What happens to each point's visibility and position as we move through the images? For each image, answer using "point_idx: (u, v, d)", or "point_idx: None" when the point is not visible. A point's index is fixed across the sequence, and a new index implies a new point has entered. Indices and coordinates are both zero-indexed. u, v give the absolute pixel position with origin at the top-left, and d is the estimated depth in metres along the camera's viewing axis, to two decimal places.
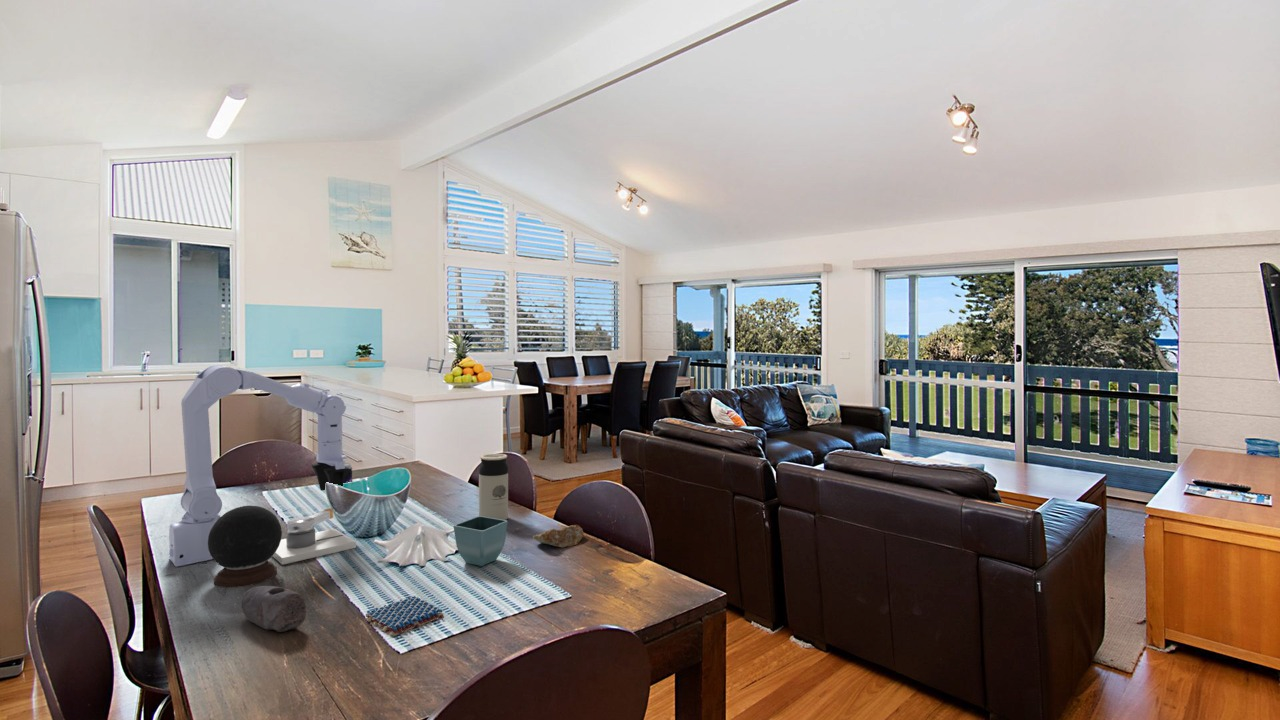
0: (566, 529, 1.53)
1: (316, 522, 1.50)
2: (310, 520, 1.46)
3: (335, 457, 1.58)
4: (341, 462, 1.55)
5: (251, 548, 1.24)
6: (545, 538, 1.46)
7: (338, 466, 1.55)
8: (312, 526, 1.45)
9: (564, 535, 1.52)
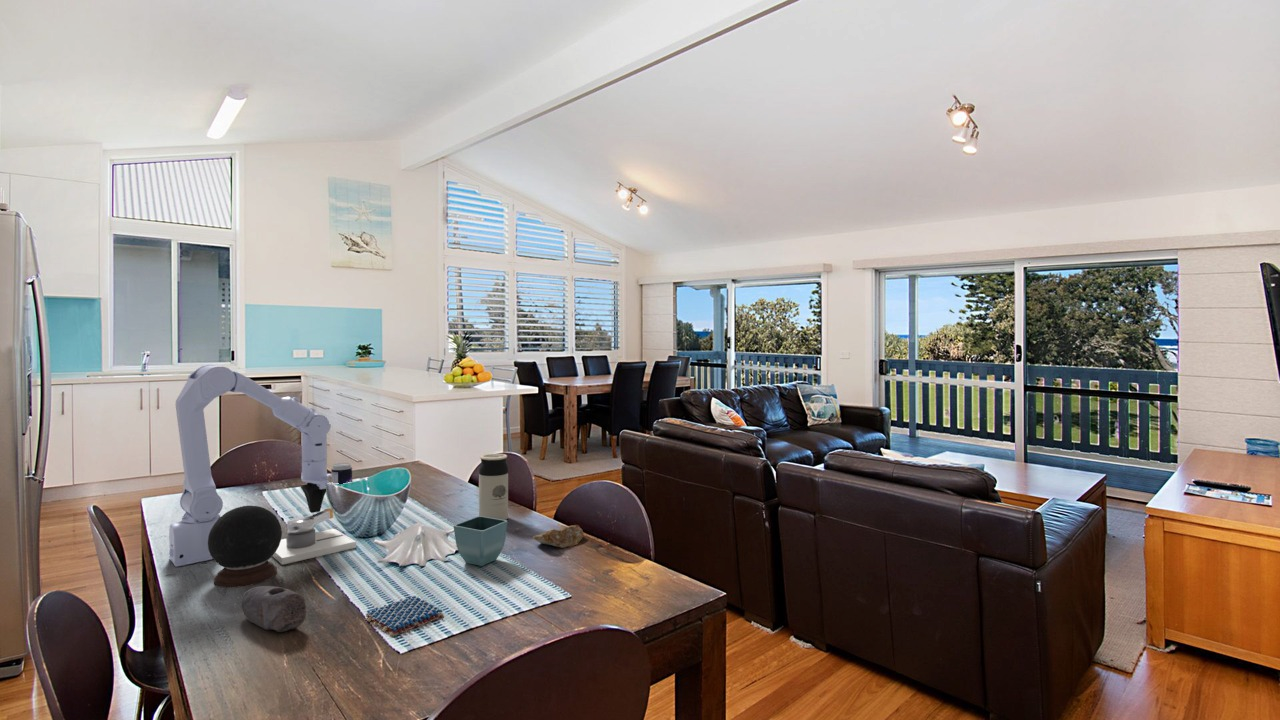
0: (566, 529, 1.53)
1: (316, 522, 1.50)
2: (310, 520, 1.46)
3: (319, 476, 1.57)
4: (325, 482, 1.54)
5: (251, 548, 1.24)
6: (546, 538, 1.46)
7: (322, 486, 1.53)
8: (312, 526, 1.45)
9: (565, 535, 1.51)
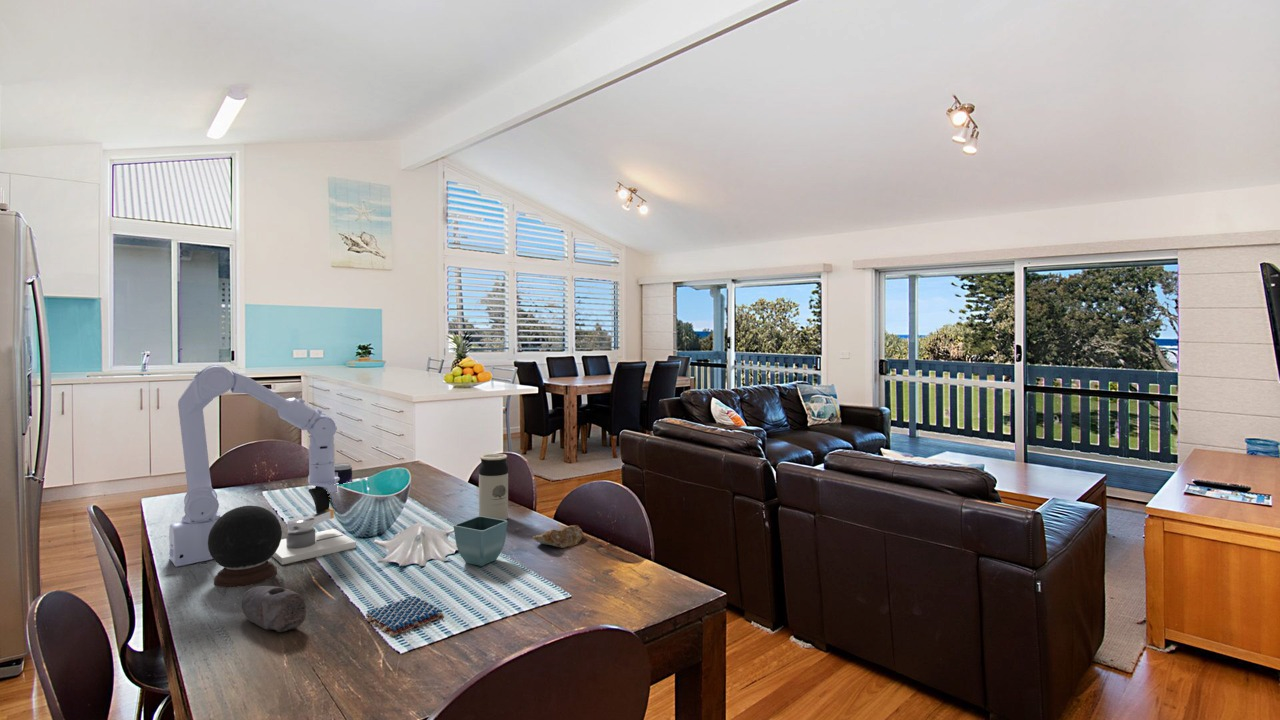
0: (566, 529, 1.53)
1: (316, 522, 1.50)
2: (310, 520, 1.45)
3: (327, 479, 1.53)
4: (333, 485, 1.50)
5: (251, 548, 1.24)
6: (547, 539, 1.46)
7: (330, 489, 1.50)
8: (312, 526, 1.45)
9: (565, 536, 1.51)
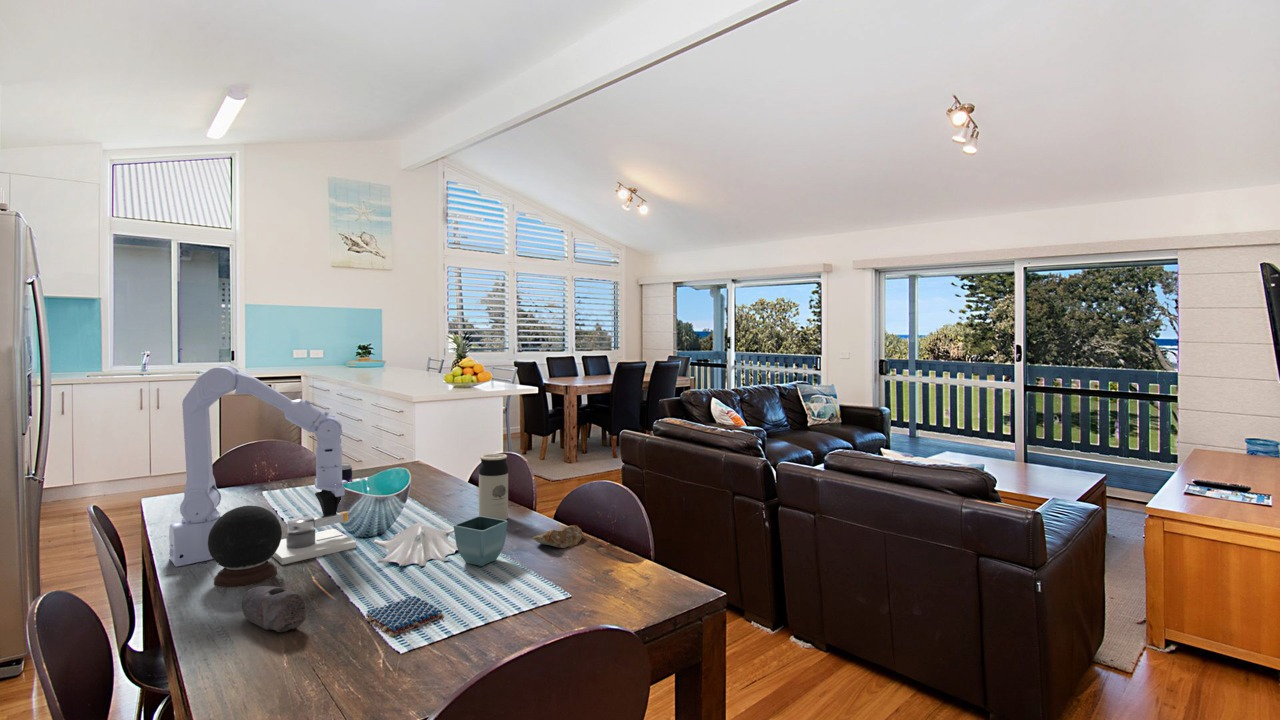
0: (566, 529, 1.53)
1: (321, 524, 1.48)
2: (306, 522, 1.44)
3: (335, 483, 1.50)
4: (341, 489, 1.47)
5: (251, 548, 1.24)
6: (547, 539, 1.46)
7: (338, 493, 1.46)
8: (307, 528, 1.44)
9: (565, 536, 1.51)
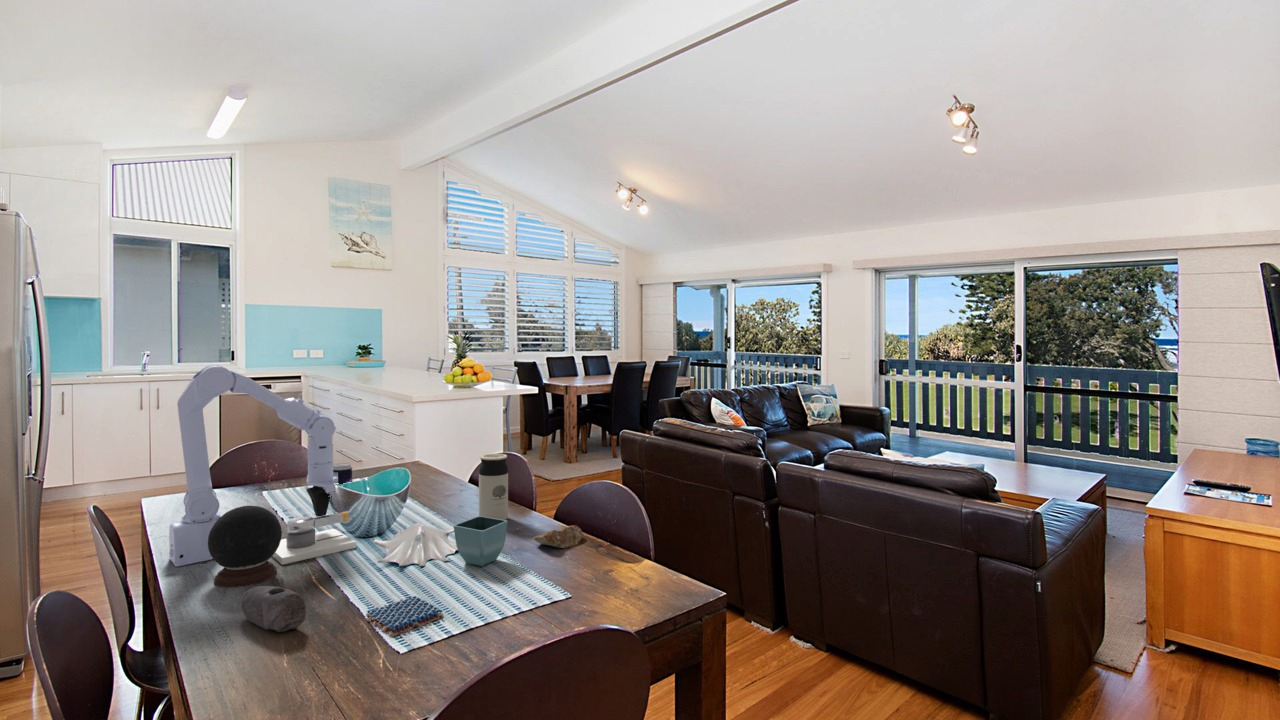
0: (566, 529, 1.53)
1: (321, 524, 1.48)
2: (306, 522, 1.44)
3: (325, 479, 1.54)
4: (331, 485, 1.51)
5: (251, 548, 1.24)
6: (548, 539, 1.45)
7: (328, 489, 1.50)
8: (306, 528, 1.44)
9: (565, 536, 1.51)
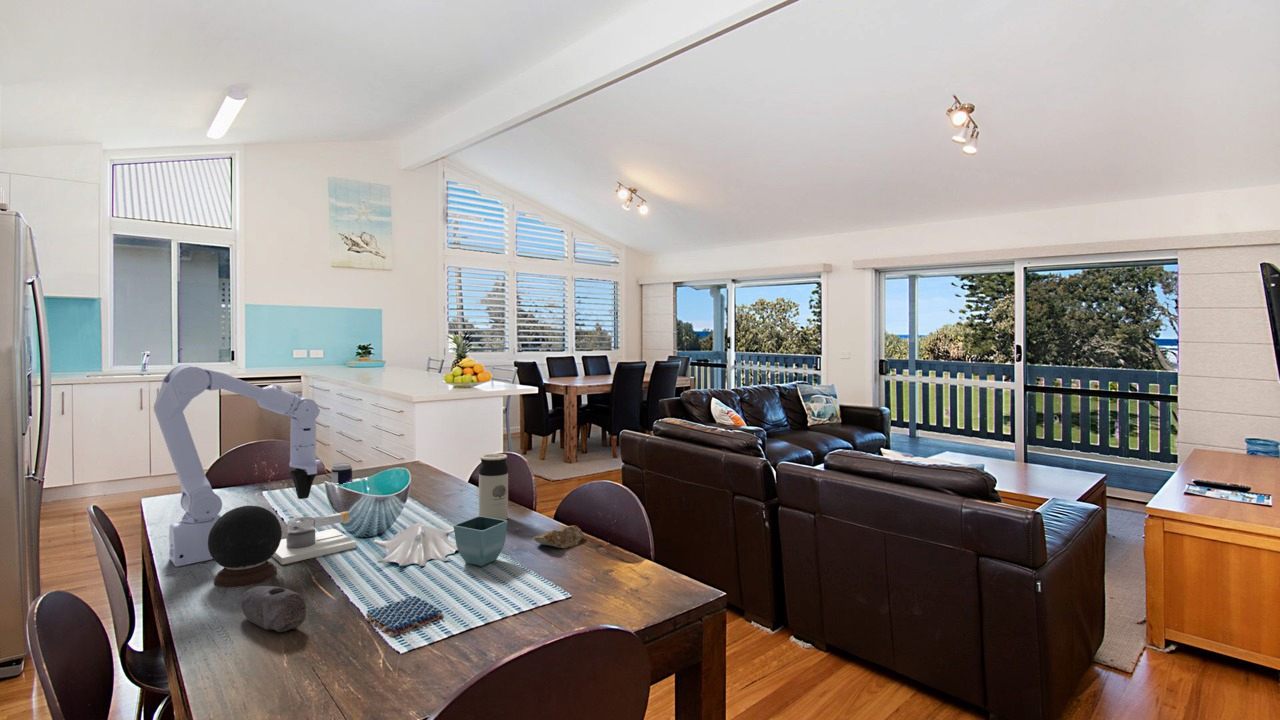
0: (566, 530, 1.53)
1: (321, 524, 1.48)
2: (306, 522, 1.44)
3: (308, 462, 1.54)
4: (313, 467, 1.51)
5: (251, 548, 1.24)
6: (548, 539, 1.45)
7: (310, 471, 1.50)
8: (306, 528, 1.44)
9: (565, 536, 1.51)
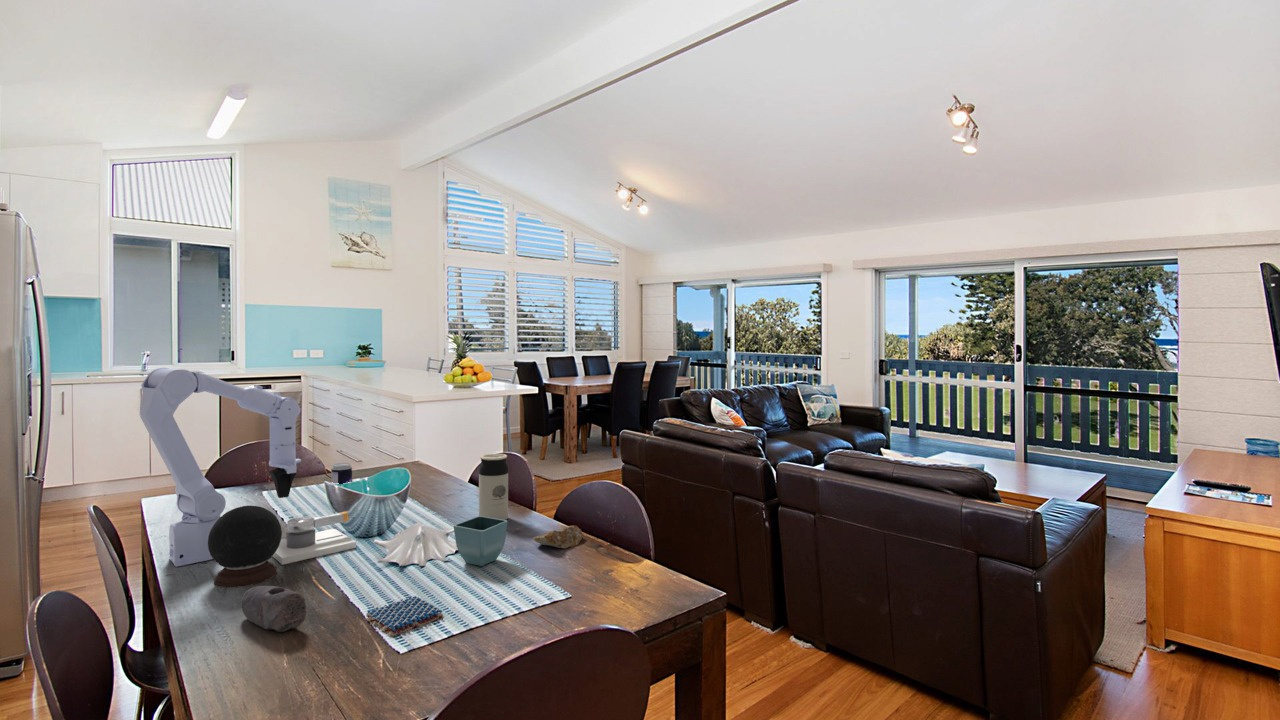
0: (566, 530, 1.53)
1: (321, 524, 1.48)
2: (306, 522, 1.44)
3: (287, 461, 1.54)
4: (293, 466, 1.51)
5: (251, 548, 1.24)
6: (549, 539, 1.45)
7: (289, 470, 1.50)
8: (306, 528, 1.44)
9: (565, 536, 1.51)
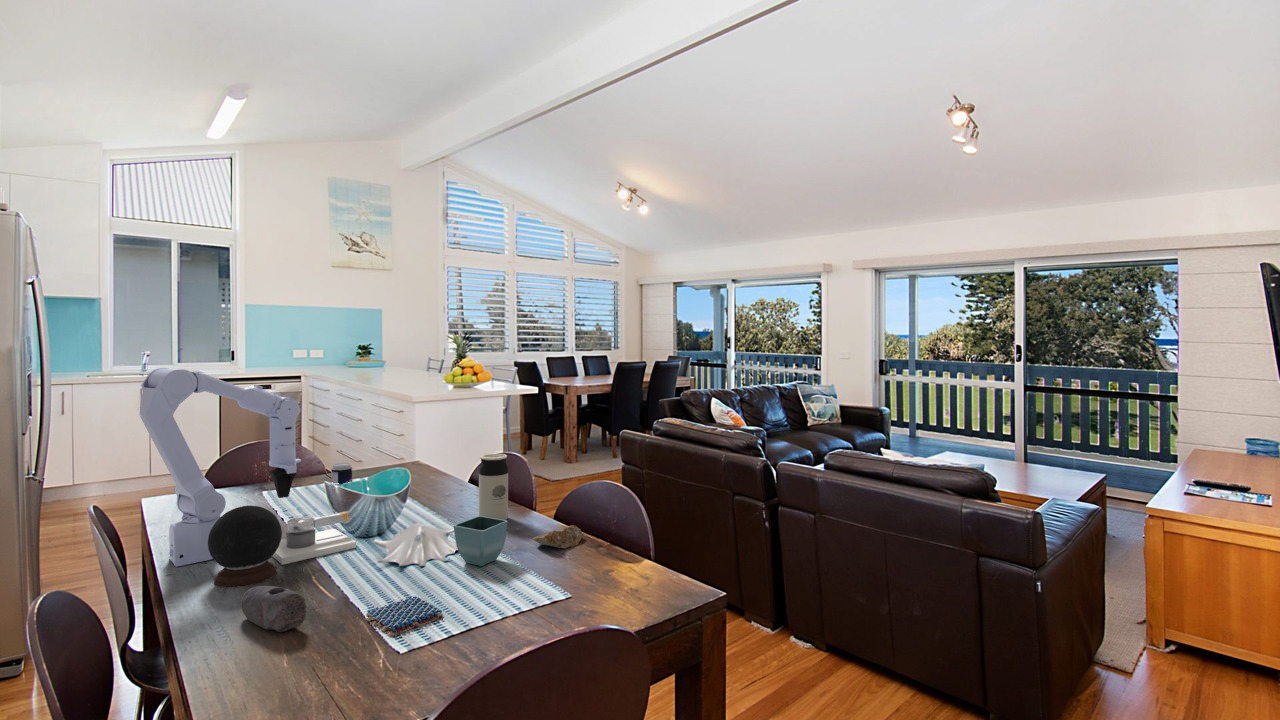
0: (566, 530, 1.53)
1: (321, 524, 1.48)
2: (306, 522, 1.44)
3: (287, 461, 1.54)
4: (293, 466, 1.51)
5: (251, 548, 1.24)
6: (549, 539, 1.45)
7: (289, 470, 1.50)
8: (306, 528, 1.44)
9: (565, 536, 1.51)
